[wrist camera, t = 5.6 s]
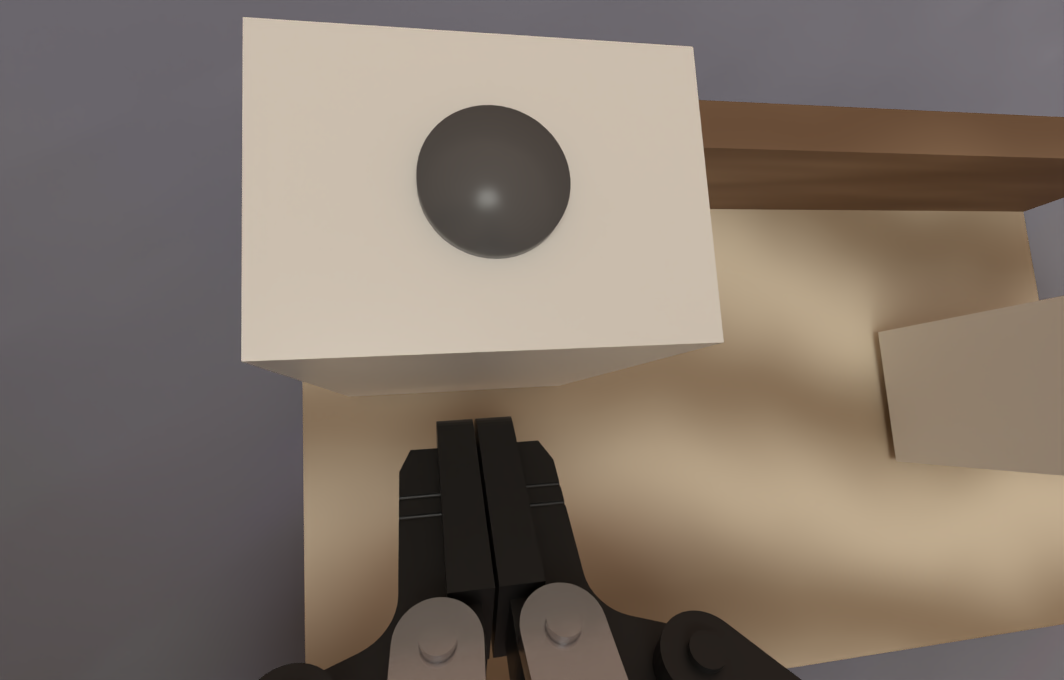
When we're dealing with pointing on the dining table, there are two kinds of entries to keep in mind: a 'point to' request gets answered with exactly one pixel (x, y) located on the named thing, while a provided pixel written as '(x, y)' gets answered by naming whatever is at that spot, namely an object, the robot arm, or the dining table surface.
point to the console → (761, 411)
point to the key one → (469, 208)
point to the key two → (980, 389)
